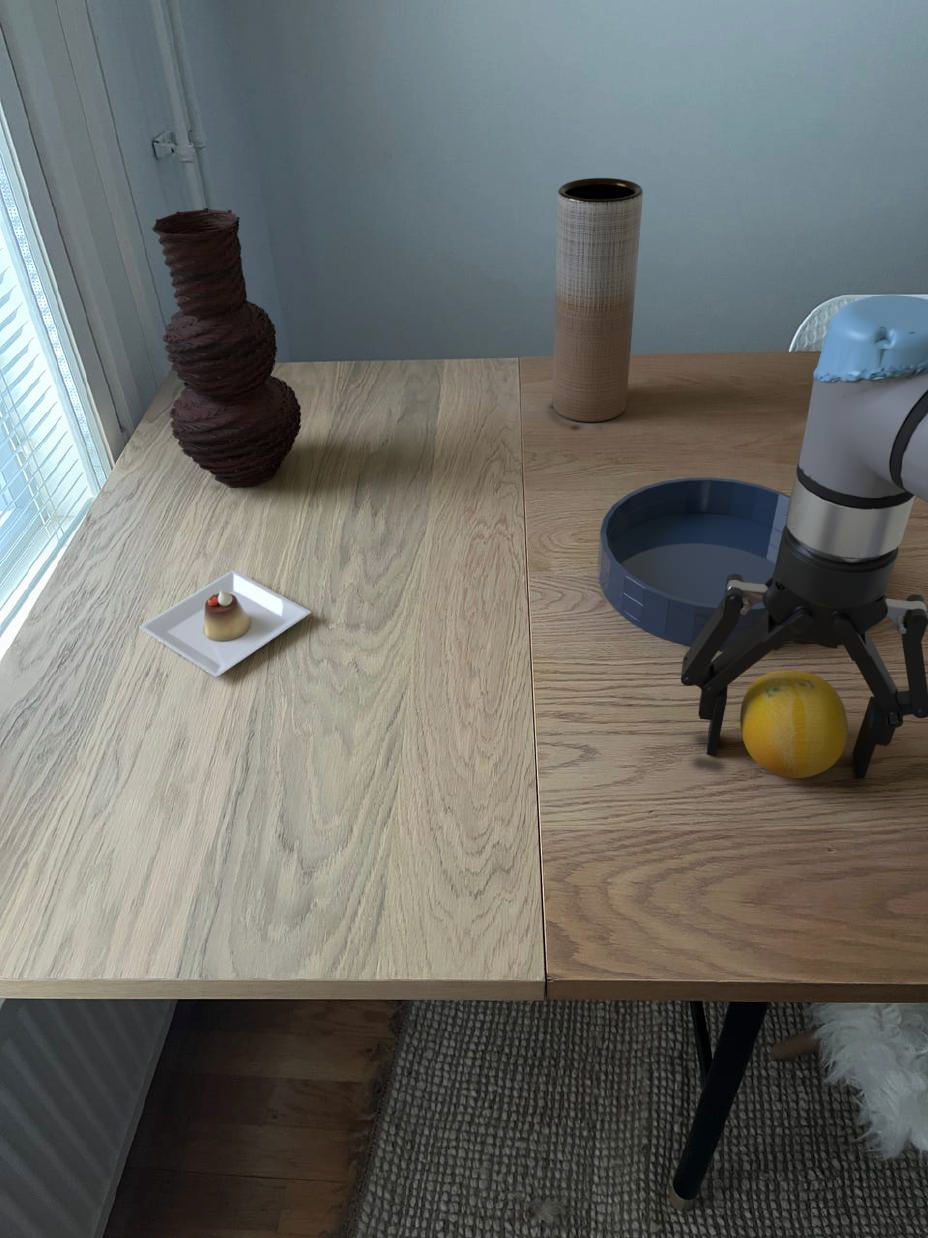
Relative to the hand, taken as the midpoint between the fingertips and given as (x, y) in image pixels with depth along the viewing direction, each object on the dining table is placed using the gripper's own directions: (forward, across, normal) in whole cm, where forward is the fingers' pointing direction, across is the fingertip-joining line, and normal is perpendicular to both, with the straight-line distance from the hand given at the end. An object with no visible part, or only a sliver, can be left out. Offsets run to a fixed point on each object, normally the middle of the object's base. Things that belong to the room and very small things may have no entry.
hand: (783, 755), depth 78 cm
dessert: (0, +53, -6) cm, 53 cm away
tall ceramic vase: (+1, +25, -60) cm, 65 cm away
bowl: (0, +7, -24) cm, 25 cm away
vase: (+1, +64, -35) cm, 73 cm away
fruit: (0, 0, 0) cm, 0 cm away
